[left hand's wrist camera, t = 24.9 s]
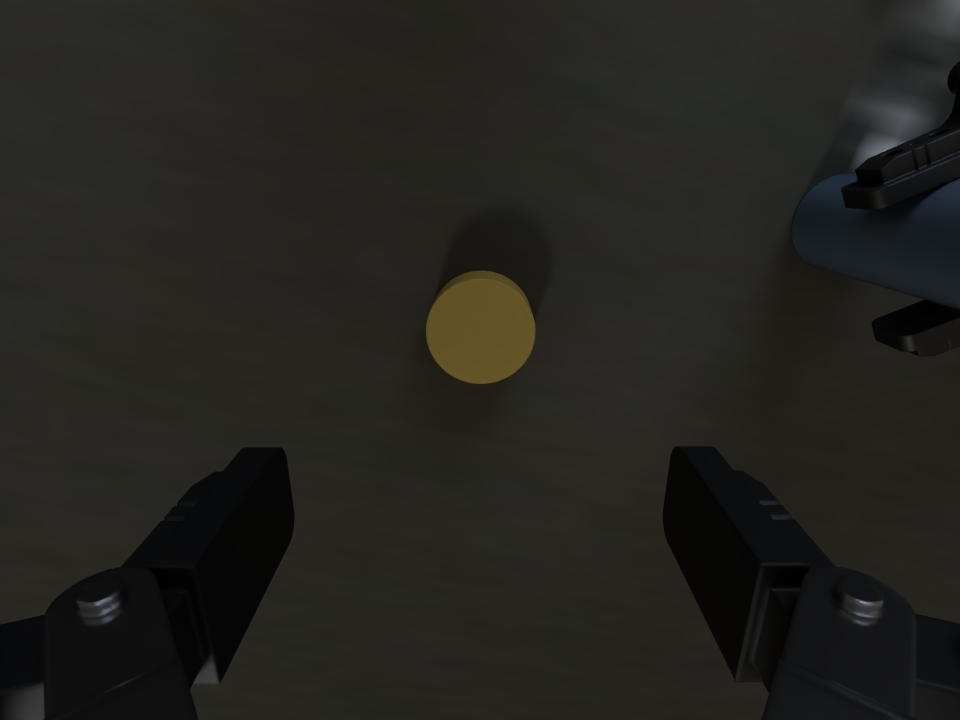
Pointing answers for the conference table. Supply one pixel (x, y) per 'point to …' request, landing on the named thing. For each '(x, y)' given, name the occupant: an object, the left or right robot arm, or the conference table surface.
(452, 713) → the conference table surface
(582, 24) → the conference table surface
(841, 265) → the dark blue cylinder
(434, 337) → the lid
